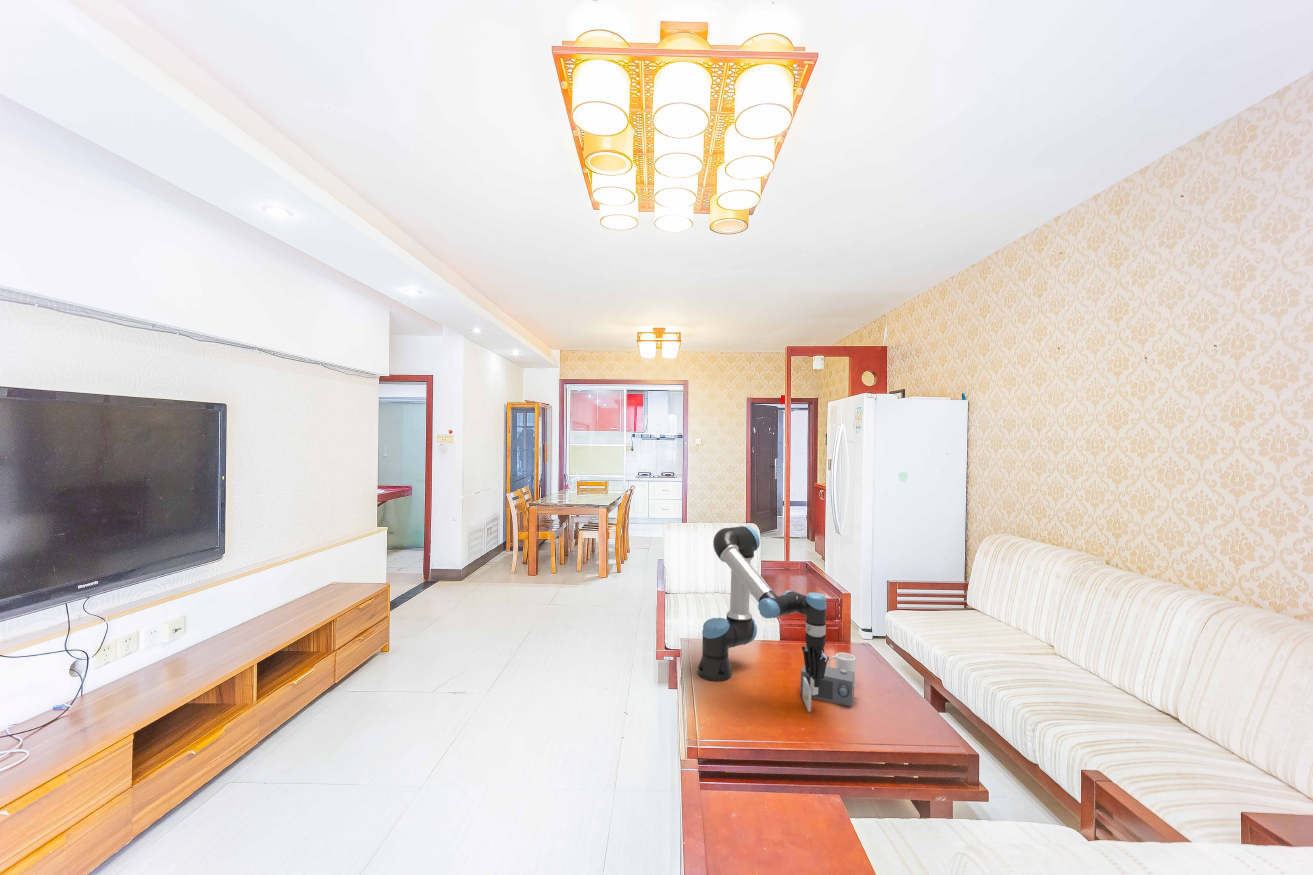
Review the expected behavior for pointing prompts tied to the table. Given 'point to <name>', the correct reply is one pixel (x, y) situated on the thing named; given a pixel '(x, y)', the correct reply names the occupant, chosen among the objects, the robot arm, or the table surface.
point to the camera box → (834, 686)
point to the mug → (845, 662)
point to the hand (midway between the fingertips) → (814, 693)
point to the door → (806, 694)
